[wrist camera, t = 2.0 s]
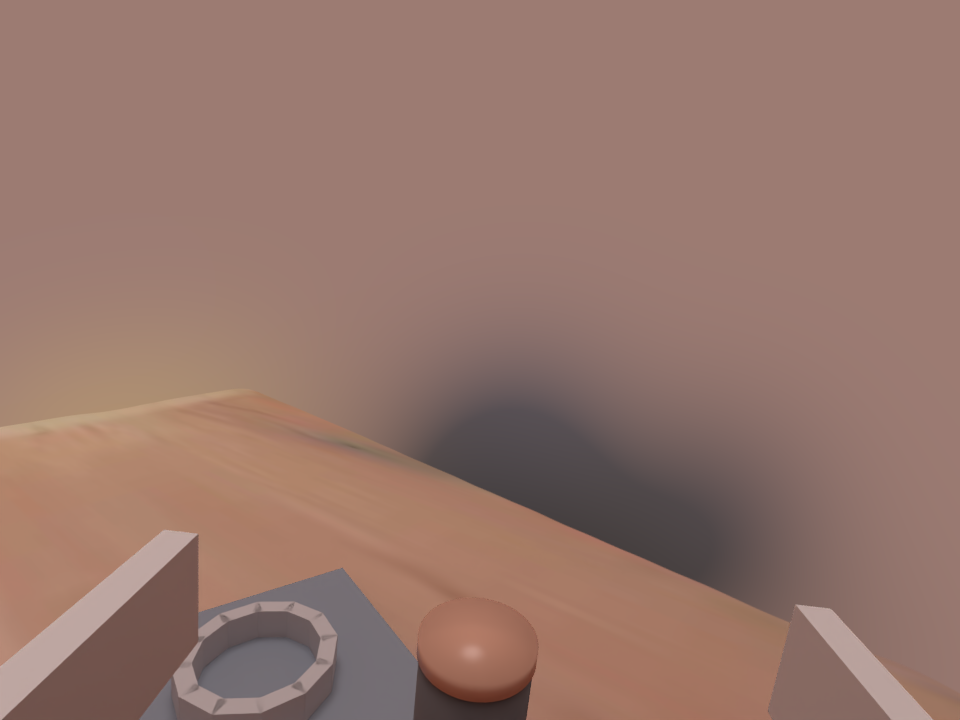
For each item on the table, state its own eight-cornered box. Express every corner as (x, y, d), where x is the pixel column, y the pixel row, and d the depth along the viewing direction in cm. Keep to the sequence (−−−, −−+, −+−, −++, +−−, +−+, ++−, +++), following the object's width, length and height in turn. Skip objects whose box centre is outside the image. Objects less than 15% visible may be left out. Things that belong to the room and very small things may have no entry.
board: (341, 580, 45) (343, 546, 44) (450, 721, 33) (455, 676, 32) (71, 668, 34) (68, 624, 33) (85, 931, 22) (80, 869, 21)
